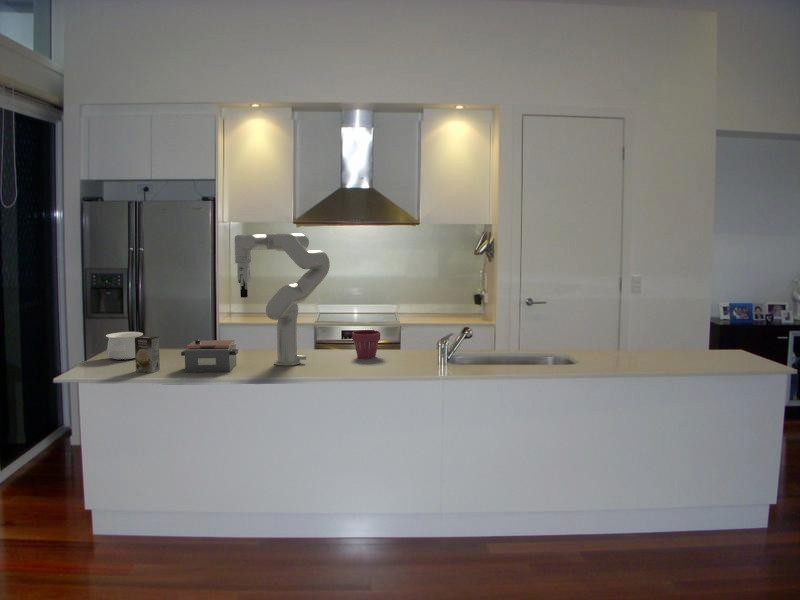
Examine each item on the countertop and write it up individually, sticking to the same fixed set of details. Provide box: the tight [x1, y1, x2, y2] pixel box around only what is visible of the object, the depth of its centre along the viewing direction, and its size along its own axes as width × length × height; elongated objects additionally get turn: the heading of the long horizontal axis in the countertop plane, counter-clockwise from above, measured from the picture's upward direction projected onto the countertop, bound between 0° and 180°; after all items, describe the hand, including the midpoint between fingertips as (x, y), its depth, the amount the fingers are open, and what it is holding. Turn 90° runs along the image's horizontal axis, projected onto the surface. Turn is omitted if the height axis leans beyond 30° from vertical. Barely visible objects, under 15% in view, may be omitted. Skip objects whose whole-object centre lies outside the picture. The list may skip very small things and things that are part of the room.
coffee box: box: [134, 334, 161, 374], centre depth 320 cm, size 9×6×16 cm
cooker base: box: [180, 343, 239, 373], centre depth 325 cm, size 25×17×10 cm
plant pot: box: [351, 329, 381, 360], centre depth 352 cm, size 14×14×13 cm
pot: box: [105, 331, 144, 361], centre depth 352 cm, size 22×17×12 cm
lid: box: [186, 339, 236, 349], centre depth 325 cm, size 19×16×3 cm
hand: (244, 297), depth 345 cm, fingers closed
